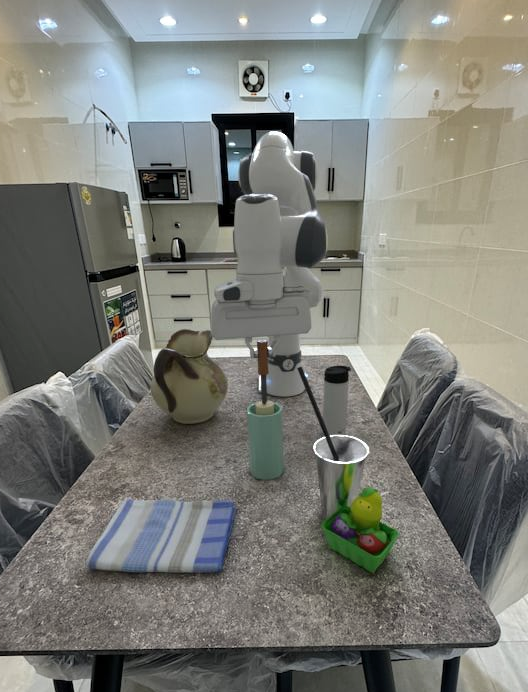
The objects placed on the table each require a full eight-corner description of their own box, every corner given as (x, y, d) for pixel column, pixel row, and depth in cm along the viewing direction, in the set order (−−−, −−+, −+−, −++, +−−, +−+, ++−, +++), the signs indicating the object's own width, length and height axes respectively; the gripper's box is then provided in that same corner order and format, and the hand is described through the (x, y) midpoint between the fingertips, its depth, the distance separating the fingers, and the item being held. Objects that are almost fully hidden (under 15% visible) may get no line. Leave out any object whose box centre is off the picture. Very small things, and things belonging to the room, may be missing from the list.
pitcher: (217, 396, 132) (211, 324, 122) (241, 424, 112) (236, 341, 102) (150, 409, 123) (137, 332, 113) (163, 441, 104) (149, 352, 94)
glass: (296, 505, 79) (296, 366, 67) (344, 492, 82) (352, 358, 70) (321, 541, 69) (325, 387, 57) (373, 524, 73) (388, 376, 61)
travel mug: (345, 443, 101) (350, 372, 93) (321, 441, 102) (323, 370, 94) (347, 432, 107) (351, 364, 99) (323, 430, 108) (325, 362, 100)
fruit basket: (318, 547, 68) (319, 495, 63) (345, 521, 74) (349, 472, 69) (375, 583, 61) (381, 527, 56) (401, 551, 67) (408, 498, 62)
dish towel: (125, 505, 80) (123, 494, 78) (238, 507, 78) (237, 496, 77) (82, 573, 64) (78, 560, 63) (222, 578, 62) (220, 565, 61)
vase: (247, 463, 93) (244, 403, 87) (279, 459, 95) (277, 399, 88) (253, 481, 86) (249, 418, 80) (286, 476, 88) (286, 414, 81)
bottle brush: (255, 429, 88) (251, 339, 79) (272, 427, 89) (269, 338, 80) (258, 437, 84) (254, 344, 76) (276, 435, 85) (273, 342, 77)
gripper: (307, 283, 79) (306, 349, 84) (206, 288, 75) (212, 356, 80) (316, 287, 73) (315, 357, 79) (208, 292, 69) (214, 365, 75)
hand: (262, 357), depth 79 cm, fingers closed on bottle brush, 2 cm apart
